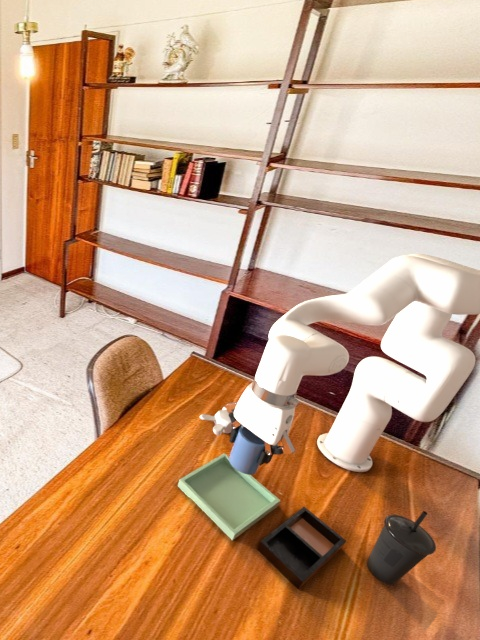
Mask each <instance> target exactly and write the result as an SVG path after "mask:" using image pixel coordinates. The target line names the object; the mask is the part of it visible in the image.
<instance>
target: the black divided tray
mask: <svg viewBox="0 0 480 640" xmlns="http://www.w3.org/2000/svg"><path fill="white" fill-rule="evenodd" d="M346 543H347V540H346V539H345V538H344V537H343V536H341V535H340V534H339V533H337V532H336V531H335V530H334V529H332V527H330V526H329V525H327V524H326V522H324V521H322V520H321V519H320V518H319V517H318V516H317V515H315V514H314V513H313V512H312V511H310V509H308V508H307V507H305V506H302V507H301V508H300V509H298V511H296V512H295V513H294V514H293V515H292V516H290V517H289V518H288V519H286V520H285V521H283V523H281V524H280V525H278V526H277V527H276V528H275V529H273V531H271V532H270V533H268V534H267V535H266V536H265V537H263V539H261V540H260V541H259V543H258V545H257V547H256V550H257V551H258V552H259V553H260V554H261V555H262V556H263V557H264V558H265V559H266V560H267V561H268V562H269V563H270V564H271V565H272V566H273V567H274V568H275V569H276V570H277V571H278V572H279V573H280V574H281V575H282V576H283V577H284V578H285V579H287V581H288V582H289V583H291V585H292V586H294V587H295V589H296V590H297V591H299V590H300V589H301V588H302V587H303V586H304V585H305V584H306V583H307V582H309V581H310V579H312V577H314V576H315V575H316V574H317V573H318V572H319V571H320V570H321V569H322V568H323V567H324V566H325V565H326V564H327V563H328V562H329V561H330V560H331V559H333V558H334V557H335V556H336V555H337V554H338V553H339V552H341V550H342V549H343V547H344V546H345V544H346Z"/></svg>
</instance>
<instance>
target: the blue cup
mask: <svg viewBox="0 0 480 640" xmlns="http://www.w3.org/2000/svg"><path fill="white" fill-rule="evenodd" d="M263 450H265V442H264V440H262V439H261V438H260V437H258V436H257V435H255V434H254V433H253V432H251V431H250V430H249V429H247V428H246V427H245V426H241V427H240V428H239V431H238V434H237V436H236V439H235V442H234V443H232V447H231V450H230V452H229V455H228V457H229V461H230V463H231V465H232V466H233V467H234V468H235V469H237V470H238V471H240V472H242V473H244V474H249V475H251V476H253V475H256V474H257V473H258V472H259V469H260V467H261V466H260V465H258V463H257V462H258V460H259V457H260V455H261V453H262V451H263Z"/></svg>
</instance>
